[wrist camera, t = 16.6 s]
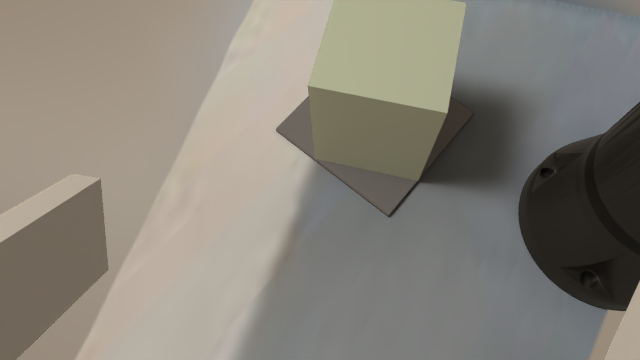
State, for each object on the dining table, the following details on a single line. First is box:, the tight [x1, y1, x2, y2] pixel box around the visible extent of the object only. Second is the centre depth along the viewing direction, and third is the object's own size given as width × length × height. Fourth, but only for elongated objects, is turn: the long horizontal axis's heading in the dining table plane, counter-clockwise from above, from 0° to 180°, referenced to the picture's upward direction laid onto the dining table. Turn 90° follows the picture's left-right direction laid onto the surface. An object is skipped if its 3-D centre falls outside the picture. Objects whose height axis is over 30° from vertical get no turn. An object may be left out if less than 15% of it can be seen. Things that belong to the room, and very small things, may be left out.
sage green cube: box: [308, 0, 466, 181], centre depth 40 cm, size 10×10×12 cm
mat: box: [276, 96, 474, 216], centre depth 47 cm, size 14×14×1 cm
